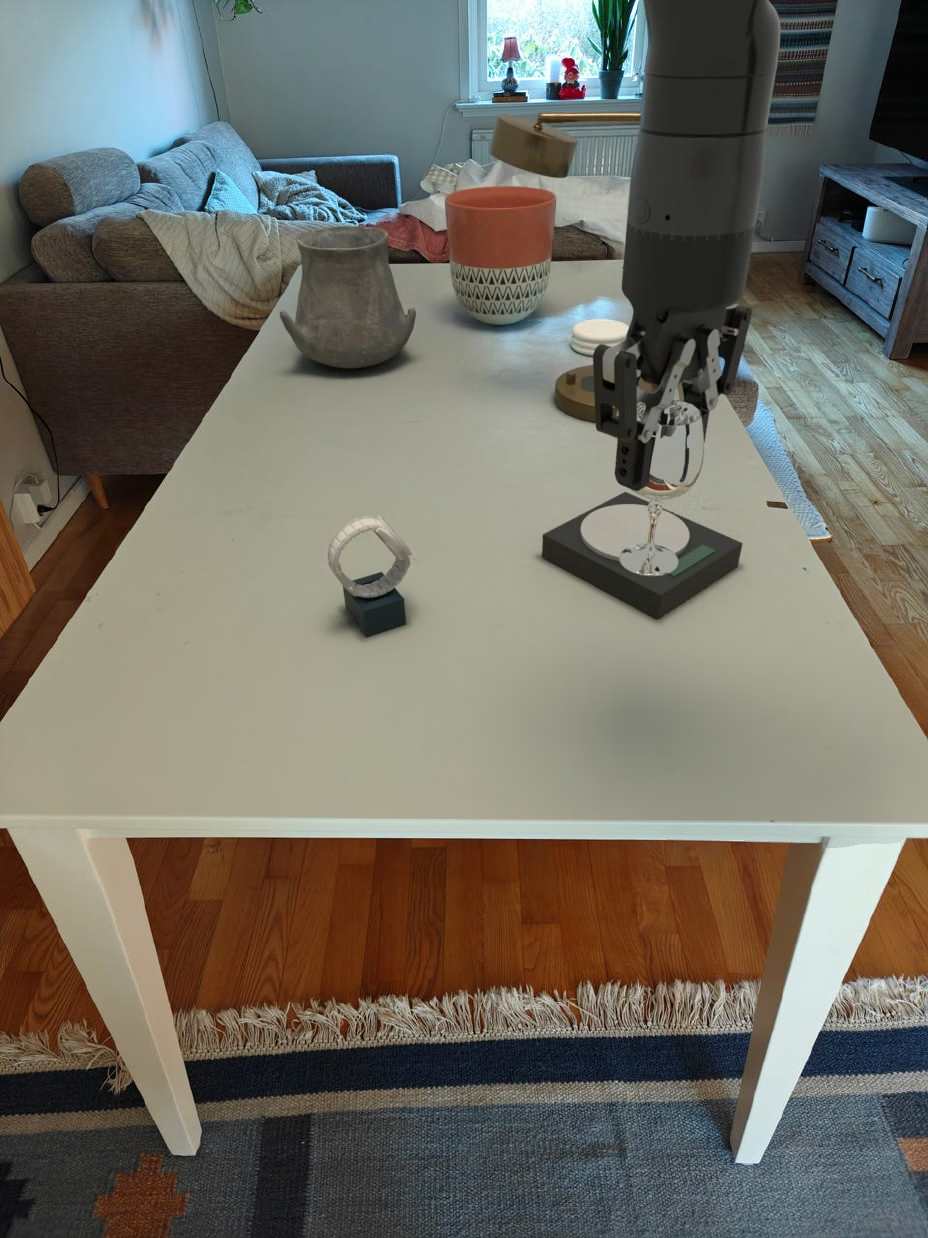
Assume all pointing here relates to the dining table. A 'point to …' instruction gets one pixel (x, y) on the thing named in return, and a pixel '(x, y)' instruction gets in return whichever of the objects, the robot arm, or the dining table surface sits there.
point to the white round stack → (597, 334)
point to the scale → (625, 522)
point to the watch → (372, 578)
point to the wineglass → (667, 479)
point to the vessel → (348, 299)
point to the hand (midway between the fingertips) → (659, 470)
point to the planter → (500, 249)
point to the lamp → (552, 157)
